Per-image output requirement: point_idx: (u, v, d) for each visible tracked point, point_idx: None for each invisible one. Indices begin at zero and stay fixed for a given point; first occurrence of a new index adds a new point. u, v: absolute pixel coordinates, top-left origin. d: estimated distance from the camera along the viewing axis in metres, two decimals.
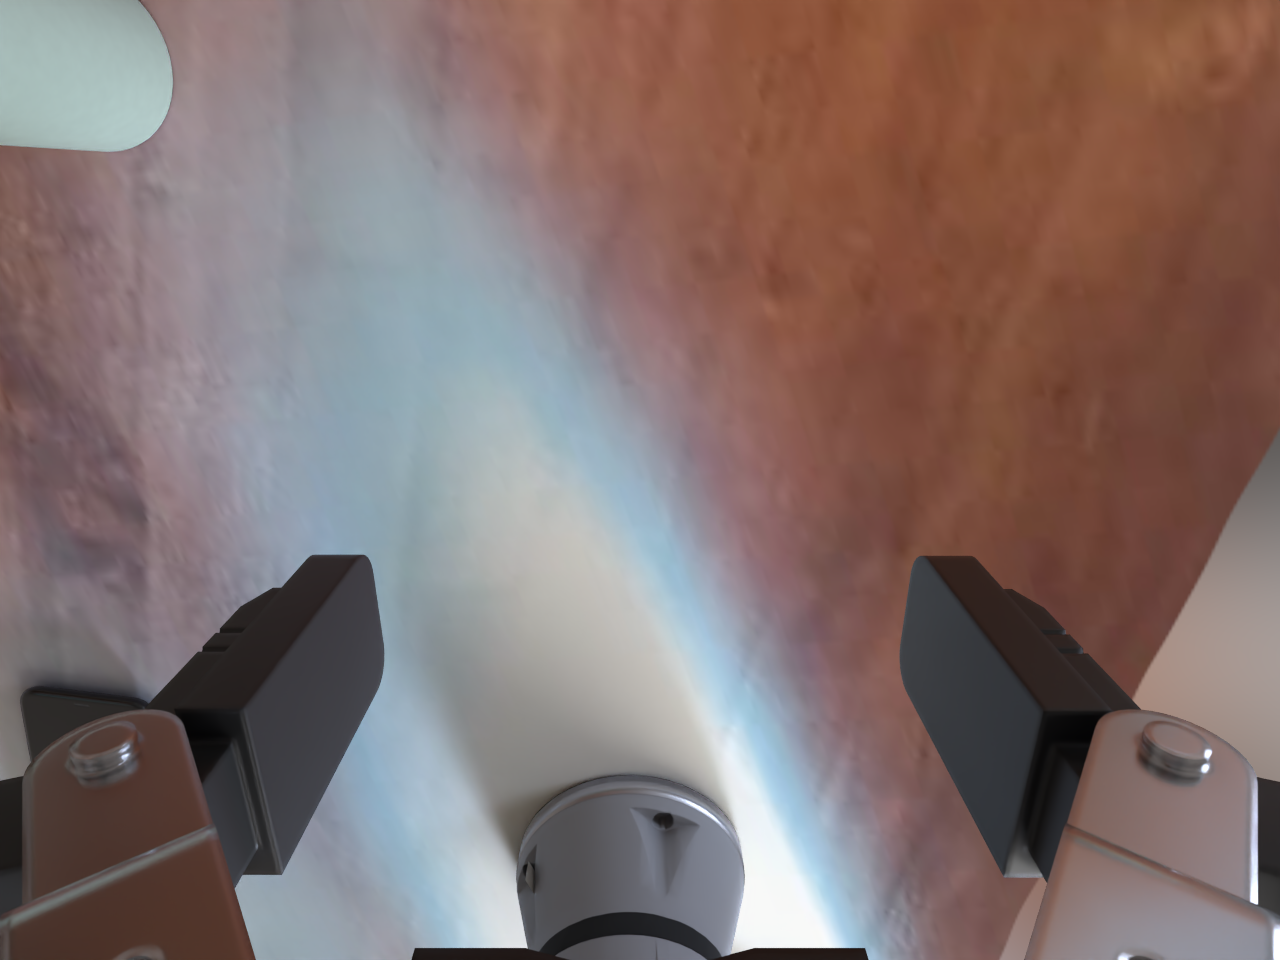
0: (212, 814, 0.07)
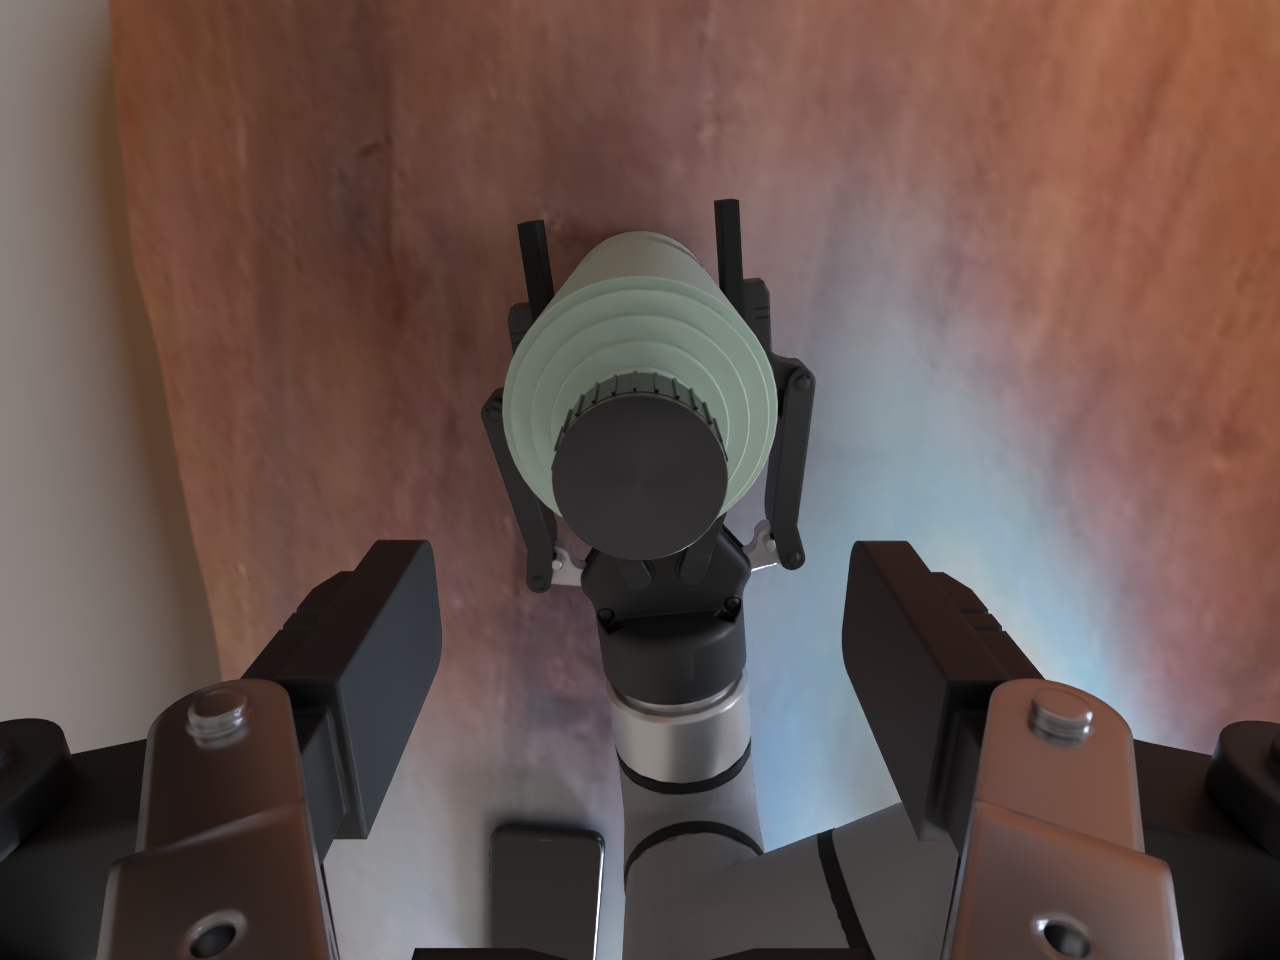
0: (312, 777, 0.08)
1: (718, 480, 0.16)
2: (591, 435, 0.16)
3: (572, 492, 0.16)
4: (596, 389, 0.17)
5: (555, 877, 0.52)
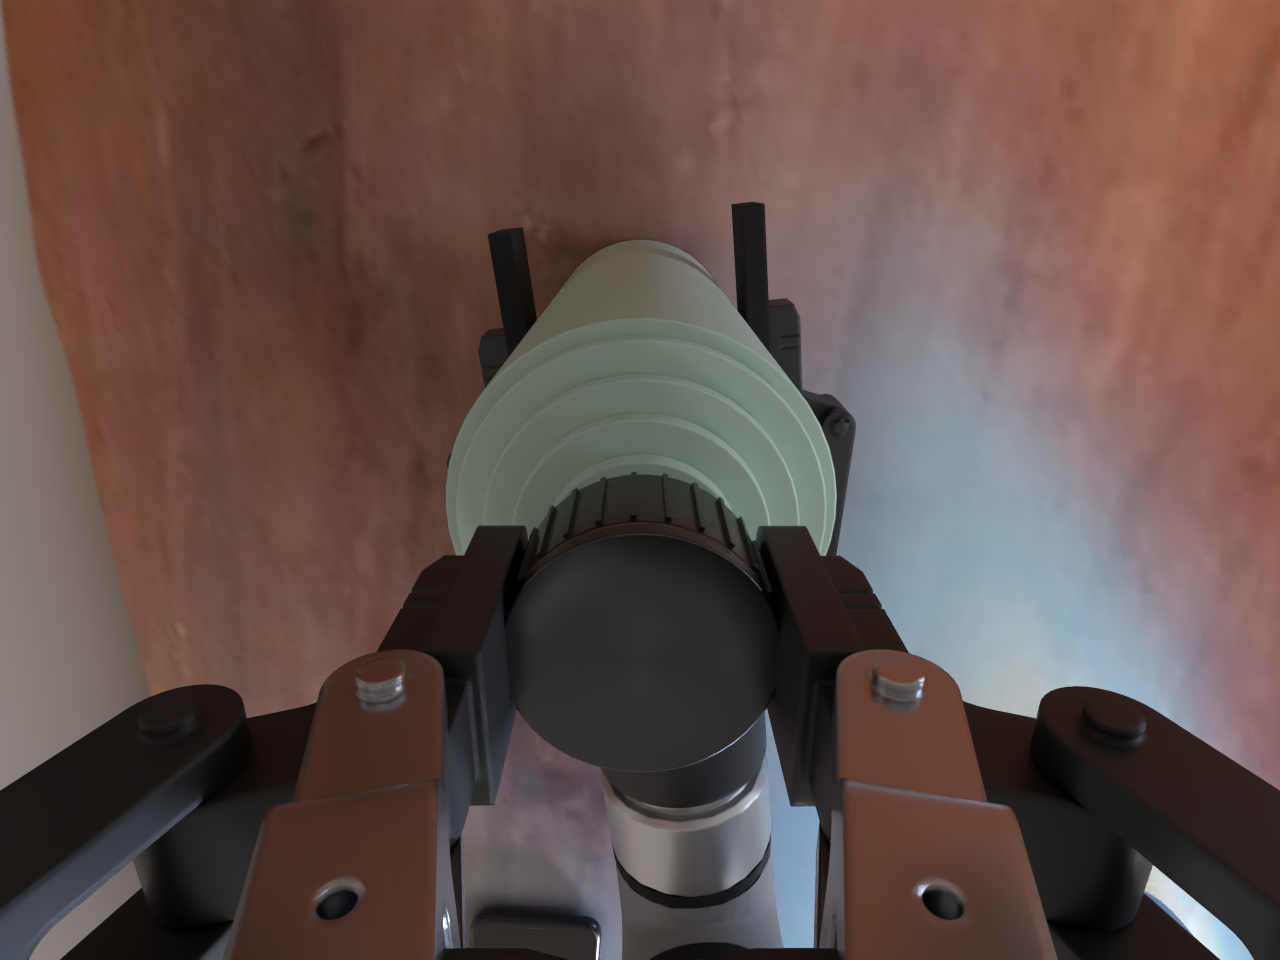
0: (459, 742, 0.08)
1: (767, 660, 0.10)
2: (562, 593, 0.10)
3: (533, 677, 0.10)
4: (573, 506, 0.11)
5: None
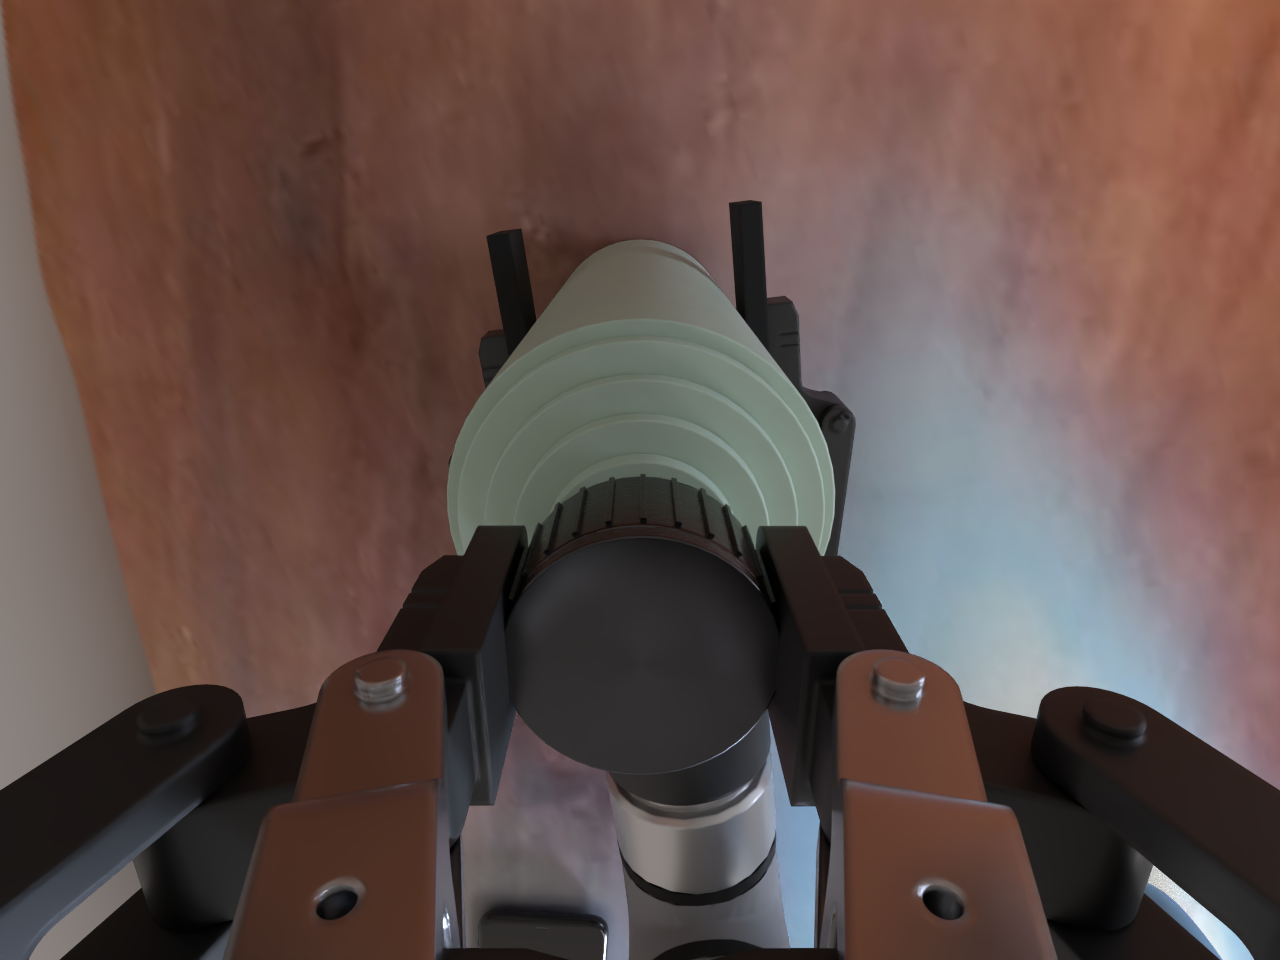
0: (459, 743, 0.08)
1: (600, 557, 0.09)
2: (591, 741, 0.11)
3: (688, 744, 0.11)
4: None
5: None
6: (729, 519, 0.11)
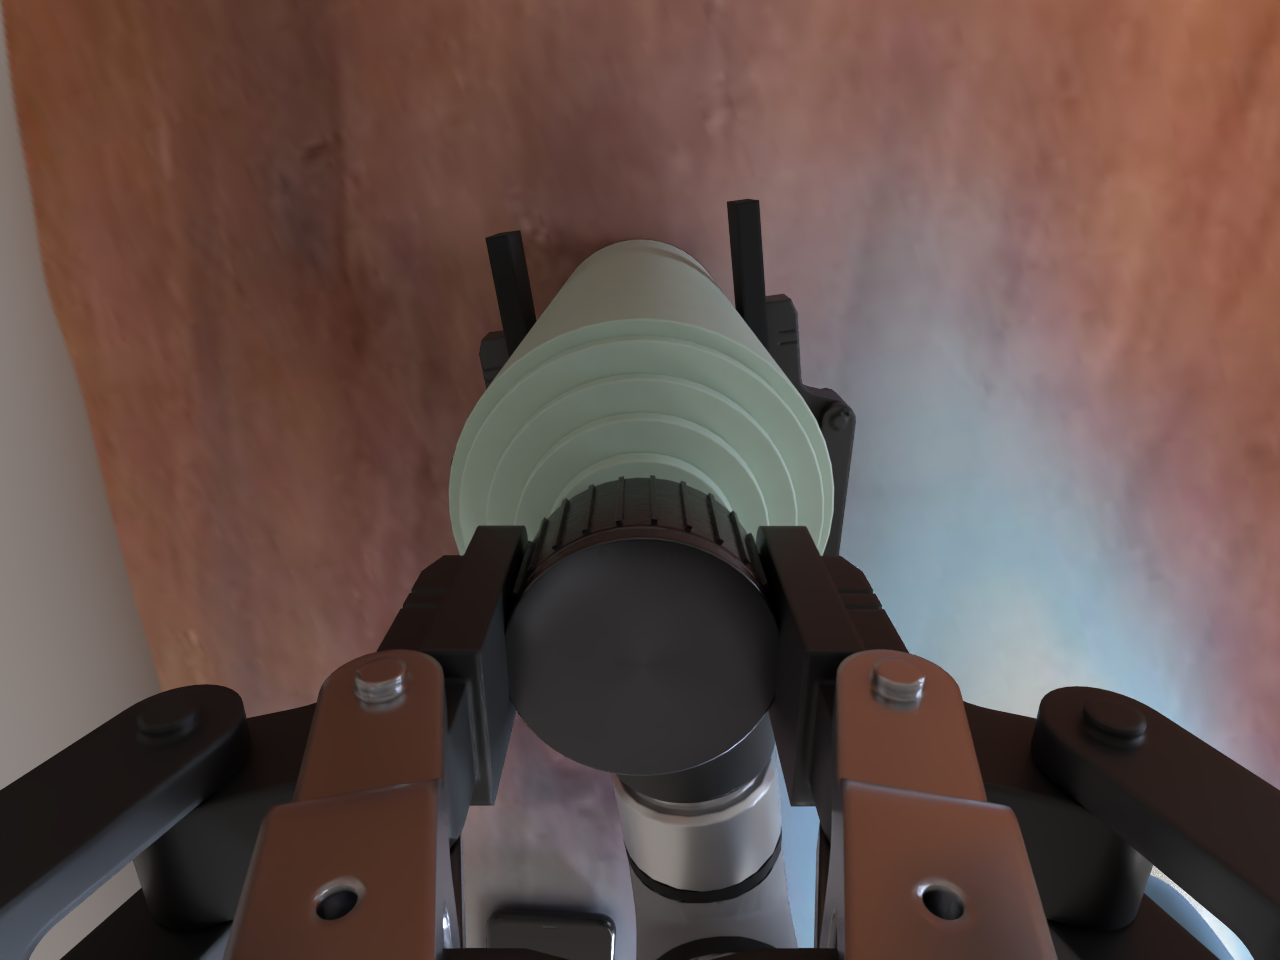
0: (459, 743, 0.08)
1: (542, 724, 0.10)
2: (747, 684, 0.10)
3: (726, 600, 0.10)
4: None
5: None
6: (522, 561, 0.11)
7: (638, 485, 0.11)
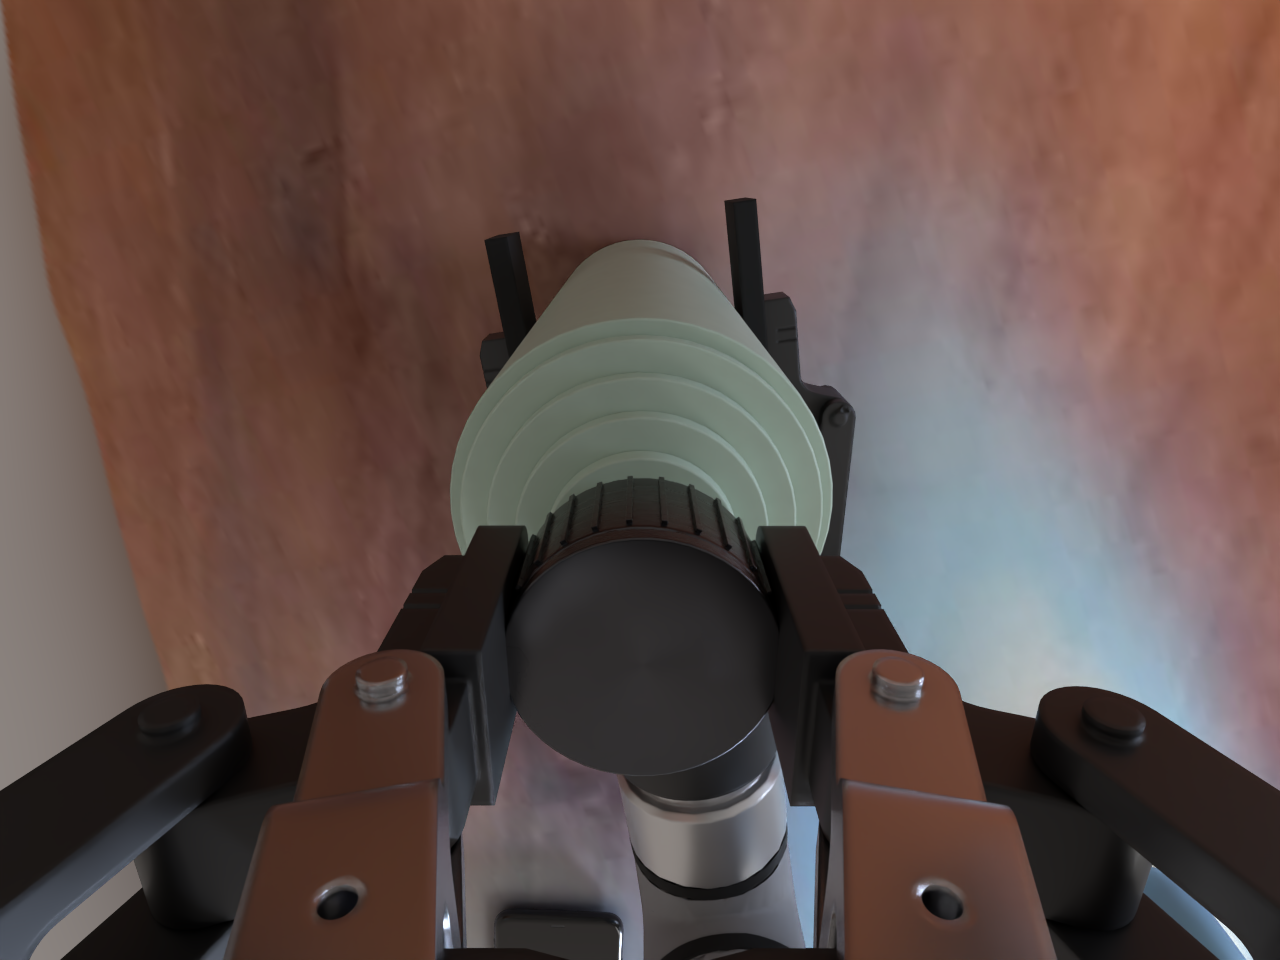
0: (460, 742, 0.08)
1: (737, 729, 0.10)
2: (633, 569, 0.10)
3: (544, 618, 0.10)
4: (665, 494, 0.11)
5: None
6: None
7: None
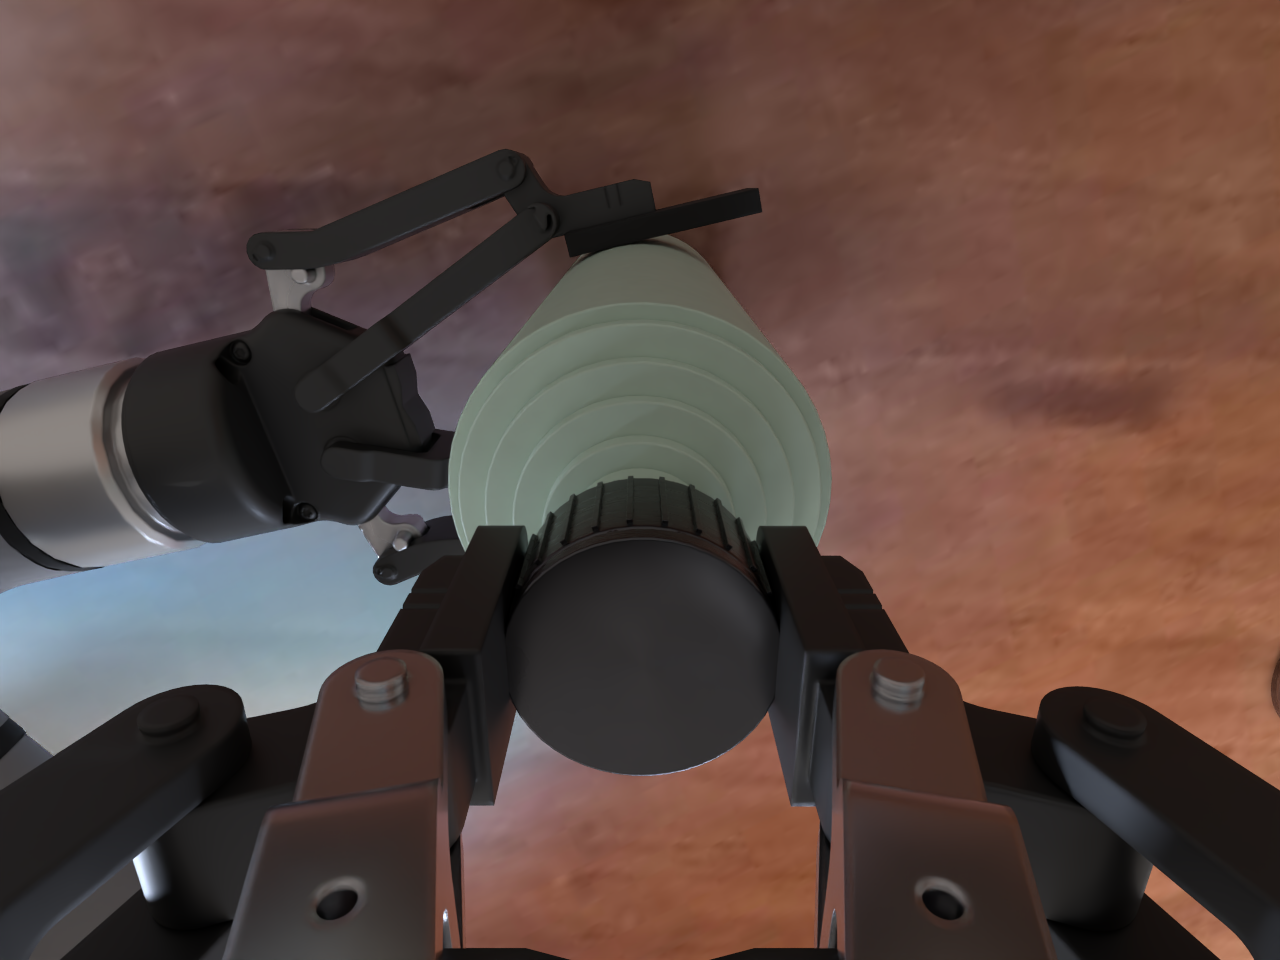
0: (459, 743, 0.08)
1: (737, 729, 0.10)
2: (633, 569, 0.10)
3: (544, 618, 0.10)
4: (665, 495, 0.11)
5: None
6: None
7: None
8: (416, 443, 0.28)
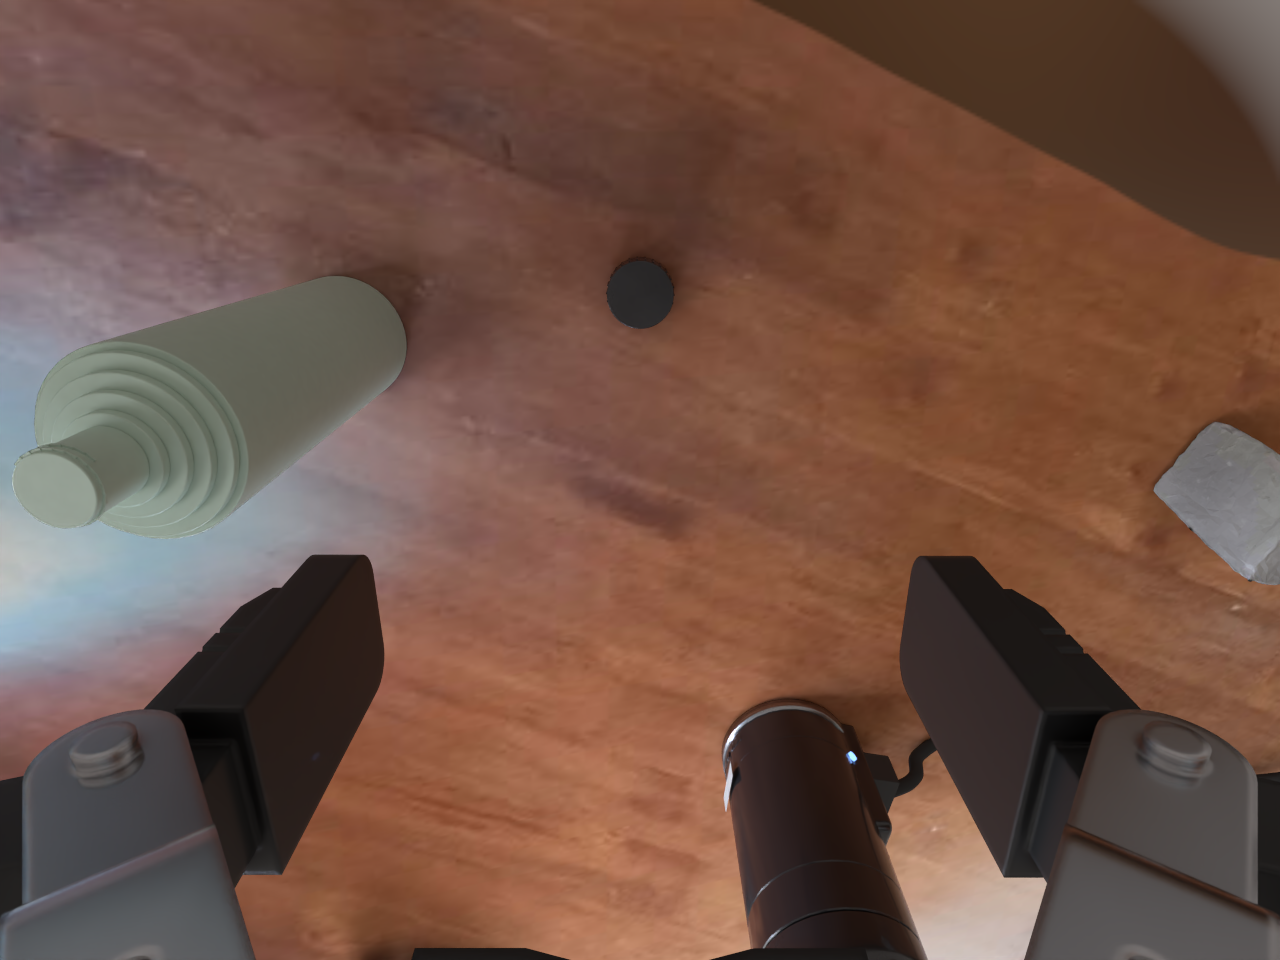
0: (212, 814, 0.07)
1: (663, 313, 0.43)
2: (638, 269, 0.42)
3: (617, 282, 0.42)
4: (645, 258, 0.43)
5: None
6: None
7: None
8: None
